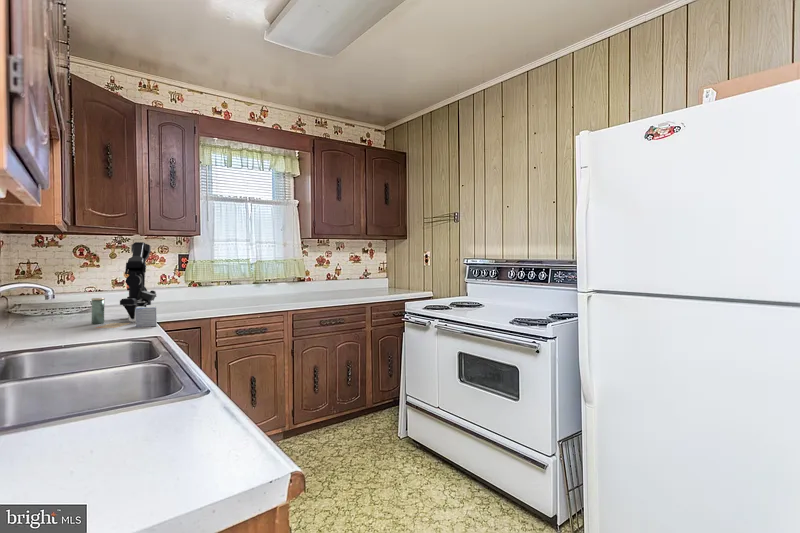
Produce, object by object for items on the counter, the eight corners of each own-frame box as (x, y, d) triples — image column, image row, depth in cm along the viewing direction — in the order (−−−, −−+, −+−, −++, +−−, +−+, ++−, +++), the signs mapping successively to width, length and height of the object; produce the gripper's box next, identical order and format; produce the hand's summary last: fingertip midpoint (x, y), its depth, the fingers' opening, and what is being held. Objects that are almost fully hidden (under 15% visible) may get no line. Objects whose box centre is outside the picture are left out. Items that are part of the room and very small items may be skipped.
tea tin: (95, 323, 200) (95, 297, 200) (106, 323, 200) (107, 297, 200) (88, 324, 195) (89, 298, 195) (100, 324, 195) (100, 298, 195)
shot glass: (141, 319, 212) (140, 305, 212) (146, 321, 208) (146, 306, 207) (125, 321, 207) (125, 307, 207) (130, 322, 202) (130, 308, 202)
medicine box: (156, 325, 195) (156, 306, 195) (156, 326, 191) (156, 307, 191) (136, 326, 192) (136, 307, 191) (135, 327, 188) (135, 308, 188)
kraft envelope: (110, 323, 198) (110, 323, 198) (131, 323, 199) (131, 322, 199) (93, 328, 184) (93, 327, 184) (115, 328, 186) (115, 327, 186)
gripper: (144, 287, 199) (145, 320, 199) (161, 284, 217) (161, 315, 217) (119, 287, 197) (119, 320, 197) (137, 284, 216) (138, 315, 216)
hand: (135, 317), depth 207 cm, fingers closed on shot glass, 6 cm apart
